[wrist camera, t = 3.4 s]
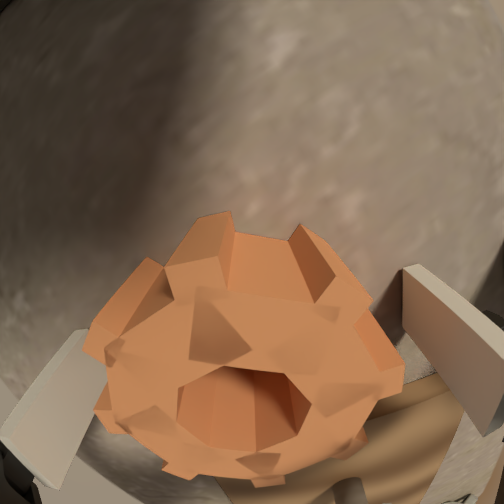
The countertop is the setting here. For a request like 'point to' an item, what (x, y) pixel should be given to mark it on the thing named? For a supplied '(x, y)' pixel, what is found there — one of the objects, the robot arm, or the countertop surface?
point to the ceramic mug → (466, 500)
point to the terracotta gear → (243, 355)
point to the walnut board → (374, 455)
